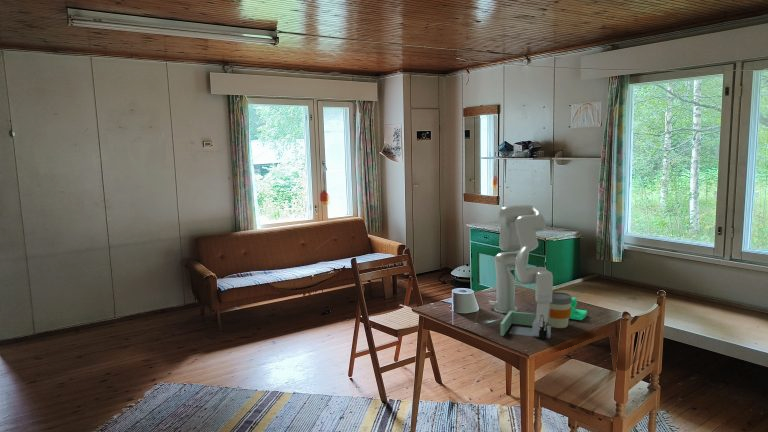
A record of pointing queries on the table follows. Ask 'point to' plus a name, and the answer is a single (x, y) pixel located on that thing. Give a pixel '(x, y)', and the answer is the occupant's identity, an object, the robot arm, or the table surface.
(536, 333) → the bracket
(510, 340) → the table surface
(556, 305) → the reusable coffee cup
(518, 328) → the mat
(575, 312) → the camera mount
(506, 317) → the corner walls
